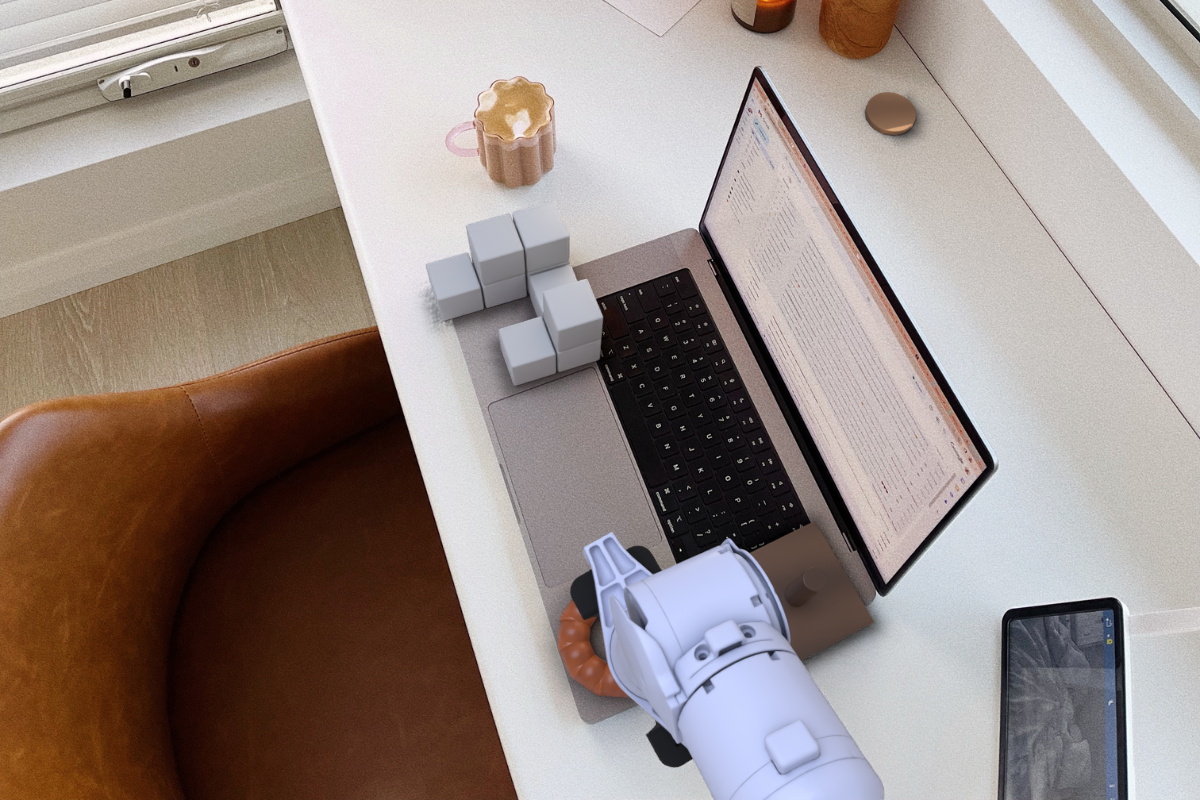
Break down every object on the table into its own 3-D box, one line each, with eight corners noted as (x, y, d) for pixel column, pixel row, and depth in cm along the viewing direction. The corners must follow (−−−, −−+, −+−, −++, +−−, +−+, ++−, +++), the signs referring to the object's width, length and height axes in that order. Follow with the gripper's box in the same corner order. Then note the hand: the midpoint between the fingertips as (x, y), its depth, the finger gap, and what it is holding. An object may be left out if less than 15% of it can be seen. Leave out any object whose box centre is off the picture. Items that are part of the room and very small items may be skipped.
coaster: (923, 125, 92) (925, 121, 91) (882, 142, 91) (884, 138, 90) (896, 89, 94) (898, 85, 93) (855, 105, 93) (857, 101, 92)
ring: (691, 666, 70) (695, 662, 68) (588, 718, 69) (589, 716, 66) (639, 564, 73) (641, 557, 71) (540, 612, 72) (539, 606, 69)
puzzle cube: (430, 286, 83) (417, 237, 75) (556, 249, 85) (555, 199, 77) (469, 401, 78) (459, 361, 71) (600, 360, 80) (603, 317, 73)
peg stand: (870, 624, 72) (900, 608, 66) (772, 676, 70) (793, 664, 64) (811, 524, 75) (834, 499, 69) (716, 571, 73) (731, 550, 67)
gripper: (808, 731, 47) (750, 728, 60) (665, 490, 51) (639, 536, 64) (692, 805, 46) (658, 786, 58) (553, 551, 49) (550, 585, 62)
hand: (642, 659), depth 61 cm, fingers open, 7 cm apart
